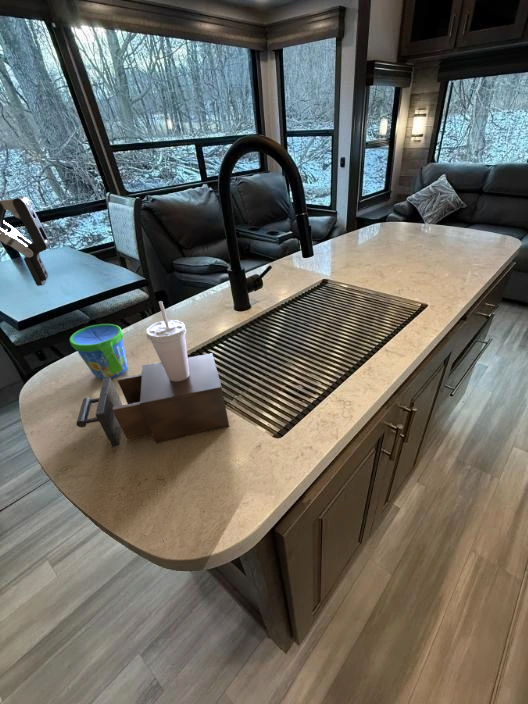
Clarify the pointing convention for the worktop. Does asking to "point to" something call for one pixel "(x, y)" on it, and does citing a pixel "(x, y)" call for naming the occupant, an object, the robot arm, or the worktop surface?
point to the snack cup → (101, 349)
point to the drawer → (117, 410)
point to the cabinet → (183, 400)
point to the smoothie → (170, 346)
